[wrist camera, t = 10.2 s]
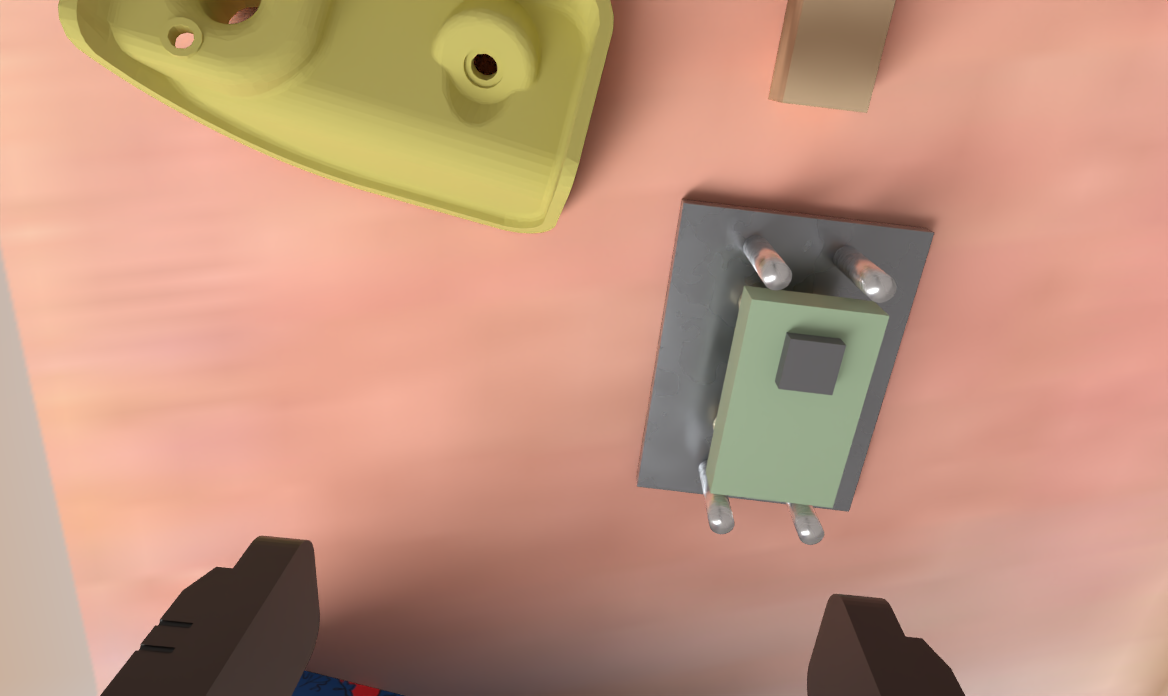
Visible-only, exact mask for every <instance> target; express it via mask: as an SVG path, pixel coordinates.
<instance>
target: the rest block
mask: <svg viewBox="0 0 1168 696" xmlns="http://www.w3.org/2000/svg"><path fill="white" fill-rule="evenodd" d="M895 1H896V0H788V3H787V8H786V13H785V18H784V23H783V28H782V33H781V38H780V43H779V48H778V53H777V58H776V63H775V68H774V73H773V78H772V83H771V88H770V93H769V98H768V99H770V100H774V101H778V102H781V103H789V104H797V105H805V106H814V107H822V108H831V109H839V110H847V111H856V112H864V113H867V112H868V108H869V104H870V100H871V96H872V92H873V88H874V84H875V80H876V76H877V72H878V68H879V64H880V60H881V56H882V52H883V48H884V44H885V40H886V36H887V32H888V29H889V25H890V21H891V17H892V13H893V9H894V5H895Z"/></svg>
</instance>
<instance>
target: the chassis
mask: <svg viewBox="0 0 1168 696" xmlns="http://www.w3.org/2000/svg"><path fill="white" fill-rule="evenodd" d="M933 235H934V232H932V231H930V230H928V229H926V228H921V227H912V226H904V225H895V224H887V223H878V222H870V221H862V220H853V219H845V218H836V217H828V216H819V215H811V214H803V213H794V212H786V211H777V210H769V209H760V208H752V207H744V206H735V205H727V204H718V203H710V202H702V201H693V200H685V199H682V201H681V207H680V213H679V219H678V225H677V232H676V238H675V244H674V250H673V256H672V262H671V268H670V275H669V281H668V287H667V293H666V299H665V305H664V311H663V318H662V324H661V330H660V336H659V342H658V348H657V354H656V361H655V367H654V373H653V379H652V385H651V391H650V397H649V404H648V410H647V416H646V422H645V428H644V434H643V440H642V447H641V453H640V459H639V465H638V471H637V487H646V488H654V489H663V490H671V491H680V492H688V493H697V494H703V495H704V500H705V505H706V510H707V515H708V520H709V525H710V528H711V530H712V531H713V532H715V533H717V534H726V533H728V532H730V531H731V530H732V529H733V527H734V519H733V515H732V511H731V507H730V503H729V499H728V497H730V498H739V499H747V500H756V501H764V502H773V503H781V504H787V507H788V509H789V512H790V514H791V517H792V520H793V522H794V525H795V528H796V530H797V533H798V536H799V538H800V540H801V541H802V542H803V543H805V544H808V545H813V544H816V543H818V542H820V541H821V540H822V539H823V537H824V531H823V528H822V526H821V524H820V521H819V519H818V517H817V515H816V512H815V510H814V508H813V507H815V508H823V509H832V510H840V511H849V509H850V506H851V503H852V499H853V496H854V493H855V490H856V486H857V483H858V480H859V477H860V473H861V470H862V467H863V464H864V460H865V457H866V454H867V450H868V447H869V444H870V441H871V437H872V434H873V431H874V428H875V424H876V421H877V418H878V415H879V411H880V408H881V405H882V402H883V398H884V395H885V392H886V388H887V385H888V382H889V379H890V375H891V372H892V369H893V366H894V362H895V359H896V356H897V353H898V349H899V346H900V343H901V340H902V336H903V333H904V330H905V326H906V323H907V320H908V317H909V313H910V310H911V307H912V304H913V300H914V297H915V294H916V291H917V287H918V284H919V281H920V278H921V274H922V271H923V268H924V264H925V261H926V258H927V255H928V251H929V248H930V245H931V242H932V238H933ZM744 286H752V287H760V288H768V289H771V290H776V291H777V290H785V291H793V292H802V293H810V294H818V295H827V296H835V297H843V298H852V299H860V300H868V301H874V302H875V303H876V304H877V305H879V306H880V307H881V308H882V309H883V310H884V311H885V312H886V313H887V314H888V315H889V319H888V323H887V326H886V330H885V333H884V336H883V340H882V343H881V346H880V350H879V353H878V357H877V360H876V363H875V367H874V370H873V373H872V377H871V380H870V383H869V387H868V390H867V394H866V397H865V400H864V404H863V407H862V410H861V414H860V417H859V421H858V424H857V427H856V431H855V434H854V437H853V441H852V444H851V447H850V451H849V454H848V458H847V461H846V464H845V468H844V471H843V474H842V478H841V481H840V485H839V488H838V491H837V495H836V498H835V501H834V505H833V508H829V507H821V506H812V505H804V504H796V503H787V502H779V501H771V500H762V499H754V498H745V497H737V496H729V495H720V494H712V493H710V490H709V485H708V481H707V476H706V466H707V461H708V456H709V452H710V447H711V442H712V437H713V432H714V428H715V423H716V418H717V413H718V408H719V404H720V399H721V394H722V389H723V384H724V380H725V375H726V370H727V365H728V360H729V356H730V351H731V346H732V341H733V336H734V331H735V327H736V322H737V317H738V312H739V307H740V303H741V298H742V293H743V288H744Z"/></svg>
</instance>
